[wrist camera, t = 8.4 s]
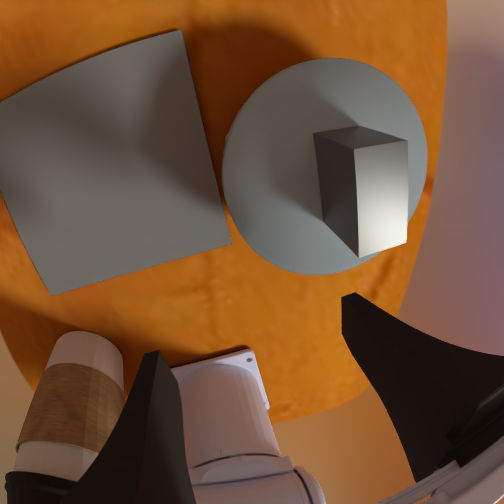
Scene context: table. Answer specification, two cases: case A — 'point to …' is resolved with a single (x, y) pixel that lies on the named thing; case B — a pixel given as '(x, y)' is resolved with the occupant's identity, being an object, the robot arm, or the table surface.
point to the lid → (324, 166)
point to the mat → (110, 166)
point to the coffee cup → (67, 418)
